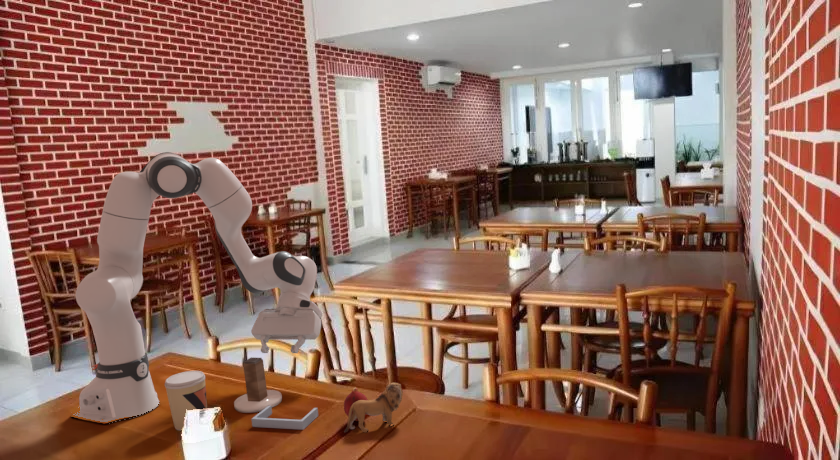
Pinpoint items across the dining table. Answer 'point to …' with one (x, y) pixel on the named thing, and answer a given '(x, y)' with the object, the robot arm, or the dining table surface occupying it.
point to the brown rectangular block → (255, 379)
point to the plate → (254, 406)
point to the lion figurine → (376, 406)
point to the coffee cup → (185, 394)
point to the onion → (353, 400)
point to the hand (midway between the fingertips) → (278, 352)
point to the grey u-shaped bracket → (282, 420)
